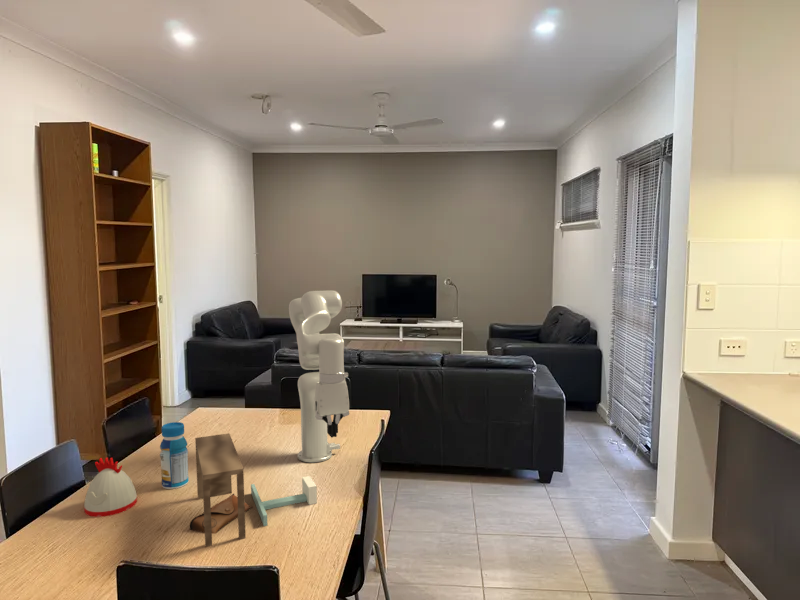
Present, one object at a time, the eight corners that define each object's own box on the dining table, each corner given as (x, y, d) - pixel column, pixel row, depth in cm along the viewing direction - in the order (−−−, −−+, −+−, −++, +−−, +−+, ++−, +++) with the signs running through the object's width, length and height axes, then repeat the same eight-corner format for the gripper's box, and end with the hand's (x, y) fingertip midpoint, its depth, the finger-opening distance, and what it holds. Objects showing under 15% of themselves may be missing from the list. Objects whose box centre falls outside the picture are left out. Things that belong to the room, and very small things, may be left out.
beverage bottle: (184, 489, 170) (181, 428, 169) (157, 490, 170) (154, 429, 168) (192, 478, 179) (190, 420, 177) (166, 479, 178) (164, 421, 176)
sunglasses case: (214, 536, 142) (203, 513, 143) (196, 544, 144) (186, 522, 145) (255, 506, 159) (245, 486, 159) (239, 514, 161) (229, 494, 162)
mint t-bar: (304, 483, 174) (304, 467, 173) (323, 513, 154) (323, 495, 153) (251, 493, 167) (250, 477, 166) (263, 526, 147) (263, 507, 146)
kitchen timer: (105, 494, 167) (102, 448, 166) (146, 496, 166) (144, 450, 164) (73, 516, 153) (70, 466, 152) (118, 518, 152) (115, 468, 151)
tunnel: (231, 492, 168) (229, 433, 167) (245, 538, 141) (243, 468, 139) (197, 498, 164) (195, 437, 162) (205, 547, 137) (202, 475, 135)
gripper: (350, 372, 170) (351, 428, 171) (304, 377, 163) (305, 435, 165) (358, 377, 163) (359, 436, 164) (311, 382, 157) (312, 443, 158)
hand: (332, 435), depth 165 cm, fingers closed
